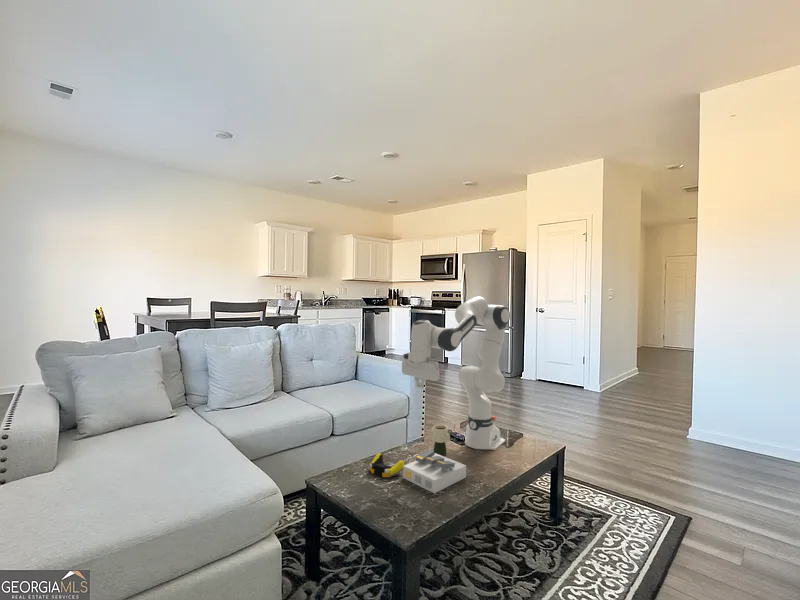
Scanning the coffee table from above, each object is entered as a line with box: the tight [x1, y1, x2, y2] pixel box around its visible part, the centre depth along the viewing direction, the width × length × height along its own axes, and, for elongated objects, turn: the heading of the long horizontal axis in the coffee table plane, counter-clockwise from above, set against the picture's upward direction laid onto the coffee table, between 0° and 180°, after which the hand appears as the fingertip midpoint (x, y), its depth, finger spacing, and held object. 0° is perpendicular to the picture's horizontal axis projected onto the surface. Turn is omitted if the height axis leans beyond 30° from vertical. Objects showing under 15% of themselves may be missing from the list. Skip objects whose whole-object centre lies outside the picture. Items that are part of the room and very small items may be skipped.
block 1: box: [415, 448, 435, 463], centre depth 168 cm, size 8×3×2 cm, turn 134°
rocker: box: [425, 456, 445, 465], centre depth 164 cm, size 8×3×2 cm, turn 134°
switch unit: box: [402, 453, 467, 494], centre depth 164 cm, size 20×17×6 cm
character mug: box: [430, 424, 451, 456], centre depth 188 cm, size 11×7×13 cm, turn 47°
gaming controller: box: [369, 452, 405, 478], centre depth 168 cm, size 15×6×10 cm
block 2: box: [436, 461, 455, 468], centre depth 160 cm, size 8×3×2 cm, turn 134°
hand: (419, 387), depth 177 cm, fingers closed
